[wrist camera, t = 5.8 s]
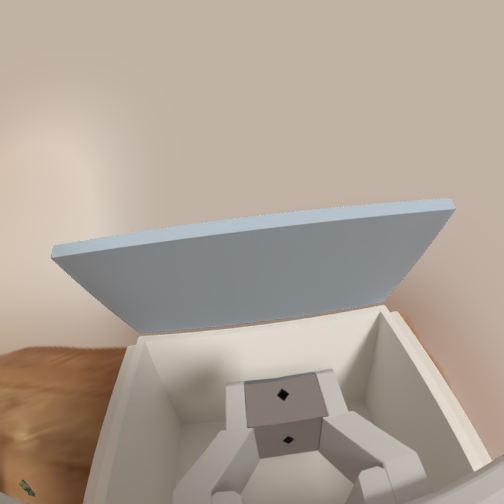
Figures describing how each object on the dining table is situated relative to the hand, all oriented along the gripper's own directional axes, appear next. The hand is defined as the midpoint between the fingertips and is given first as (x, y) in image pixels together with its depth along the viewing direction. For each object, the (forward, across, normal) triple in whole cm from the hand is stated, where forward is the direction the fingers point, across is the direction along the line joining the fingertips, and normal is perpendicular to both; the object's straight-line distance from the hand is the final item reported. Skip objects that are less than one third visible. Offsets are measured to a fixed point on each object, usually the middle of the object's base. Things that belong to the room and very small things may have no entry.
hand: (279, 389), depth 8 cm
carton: (+1, 0, +17) cm, 17 cm away
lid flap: (+8, 0, +1) cm, 8 cm away
